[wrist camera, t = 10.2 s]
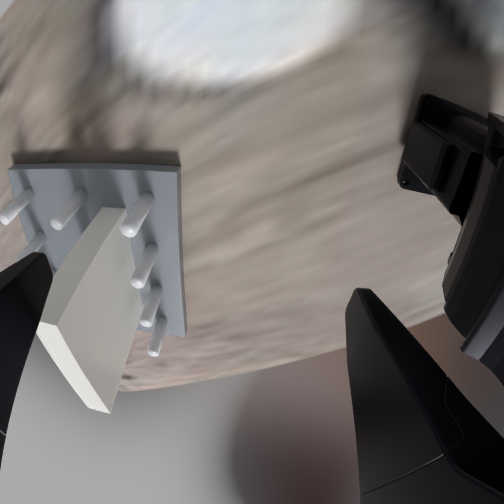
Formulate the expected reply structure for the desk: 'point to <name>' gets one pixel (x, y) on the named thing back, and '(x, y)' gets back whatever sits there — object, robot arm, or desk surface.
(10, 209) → the dish rack
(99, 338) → the white rectangular slab
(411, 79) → the desk surface
